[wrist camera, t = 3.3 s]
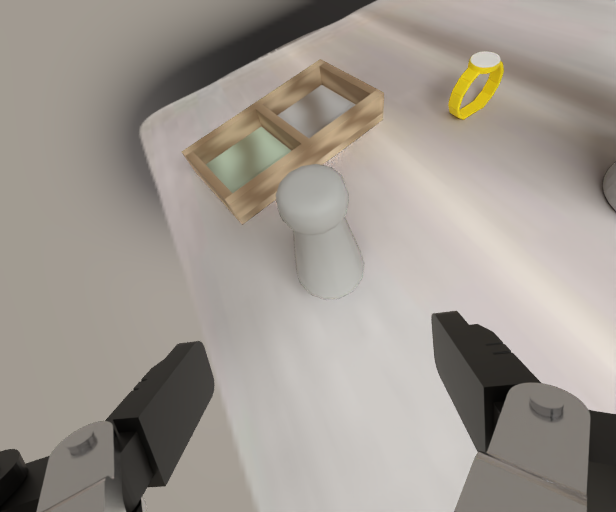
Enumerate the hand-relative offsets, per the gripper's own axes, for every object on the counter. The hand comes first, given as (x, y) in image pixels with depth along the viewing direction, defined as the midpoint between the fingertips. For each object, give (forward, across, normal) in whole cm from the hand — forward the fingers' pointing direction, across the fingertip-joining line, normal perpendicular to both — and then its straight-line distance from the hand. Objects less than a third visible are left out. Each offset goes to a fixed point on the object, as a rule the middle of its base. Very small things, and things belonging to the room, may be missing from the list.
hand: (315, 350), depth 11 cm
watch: (+31, -18, -9) cm, 37 cm away
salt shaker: (+18, 0, +4) cm, 18 cm away
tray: (+31, +4, -9) cm, 32 cm away
